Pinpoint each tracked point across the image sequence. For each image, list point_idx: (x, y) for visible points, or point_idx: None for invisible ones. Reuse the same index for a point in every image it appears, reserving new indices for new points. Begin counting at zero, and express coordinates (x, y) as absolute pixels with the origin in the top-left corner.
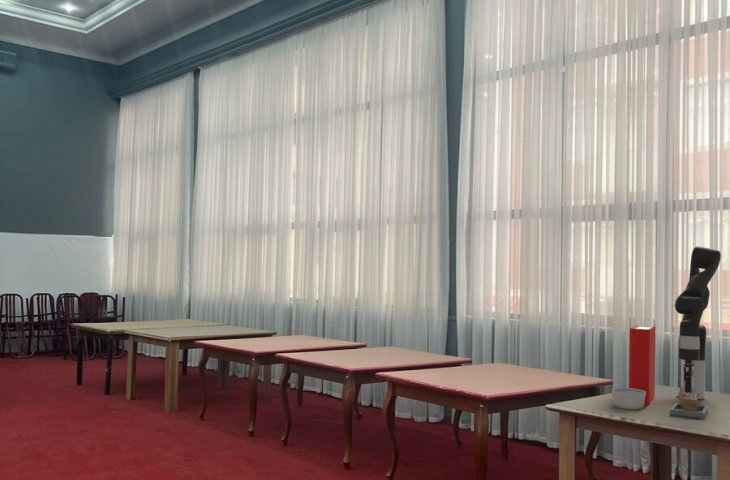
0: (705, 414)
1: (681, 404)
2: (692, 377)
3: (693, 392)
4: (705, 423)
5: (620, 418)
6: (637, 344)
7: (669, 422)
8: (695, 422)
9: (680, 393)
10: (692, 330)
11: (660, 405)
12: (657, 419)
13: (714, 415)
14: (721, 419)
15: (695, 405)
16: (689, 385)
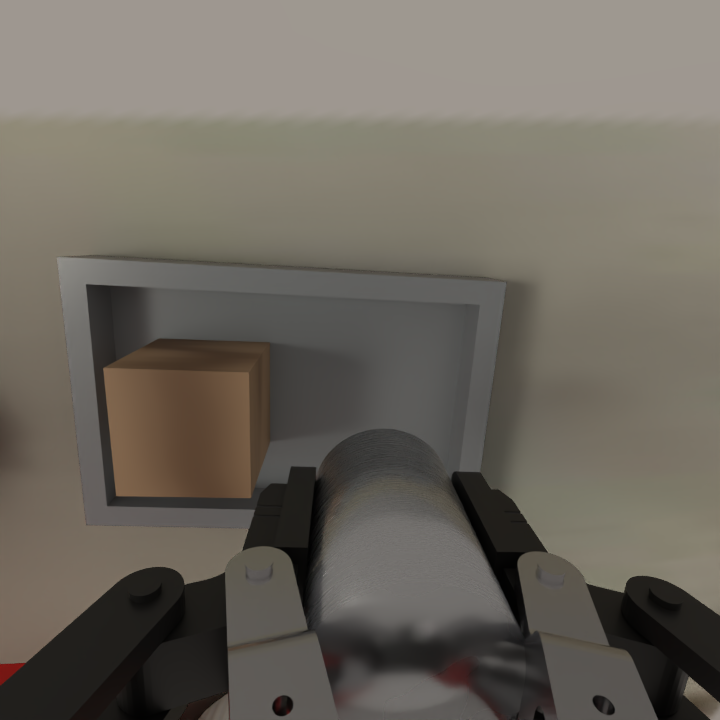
0: (341, 270)
1: (109, 478)
2: (473, 616)
3: (416, 439)
4: (638, 259)
5: (714, 714)
6: None
7: (717, 482)
8: (633, 329)
9: None
10: None
11: (45, 599)
12: (644, 553)
13: (207, 198)
14: (377, 136)
15: (258, 368)
16: (539, 544)
